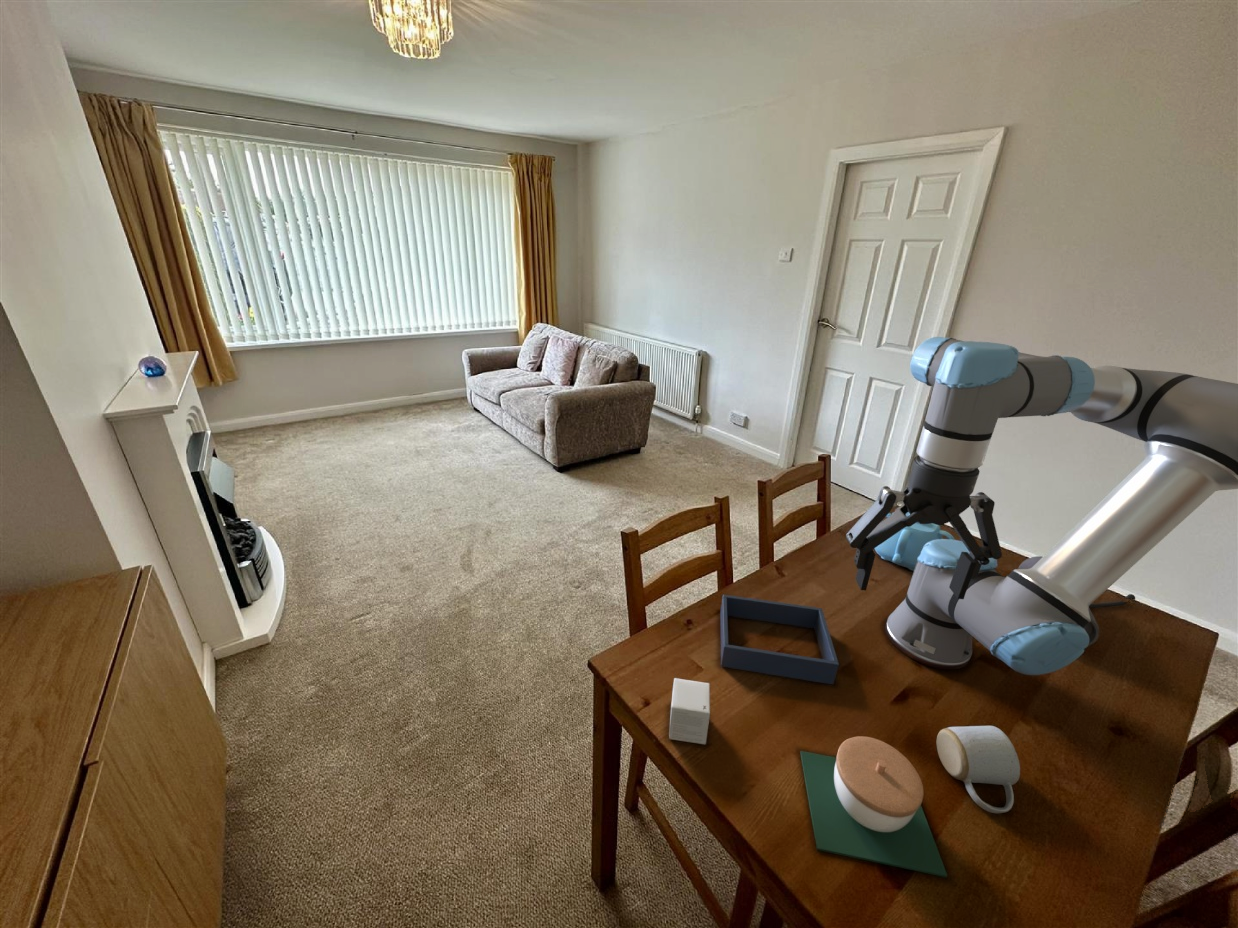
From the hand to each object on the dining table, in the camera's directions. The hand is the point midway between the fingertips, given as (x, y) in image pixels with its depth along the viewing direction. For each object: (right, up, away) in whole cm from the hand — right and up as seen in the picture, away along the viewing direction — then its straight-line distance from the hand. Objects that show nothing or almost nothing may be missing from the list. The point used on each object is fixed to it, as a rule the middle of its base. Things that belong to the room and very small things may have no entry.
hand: (907, 589), depth 73 cm
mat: (-8, -31, -4) cm, 32 cm away
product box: (-32, -25, +8) cm, 42 cm away
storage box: (-13, -18, +25) cm, 33 cm away
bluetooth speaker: (+52, -16, +35) cm, 65 cm away
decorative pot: (+32, -6, +56) cm, 64 cm away
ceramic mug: (+11, -30, +1) cm, 32 cm away
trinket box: (-8, -31, -4) cm, 32 cm away
